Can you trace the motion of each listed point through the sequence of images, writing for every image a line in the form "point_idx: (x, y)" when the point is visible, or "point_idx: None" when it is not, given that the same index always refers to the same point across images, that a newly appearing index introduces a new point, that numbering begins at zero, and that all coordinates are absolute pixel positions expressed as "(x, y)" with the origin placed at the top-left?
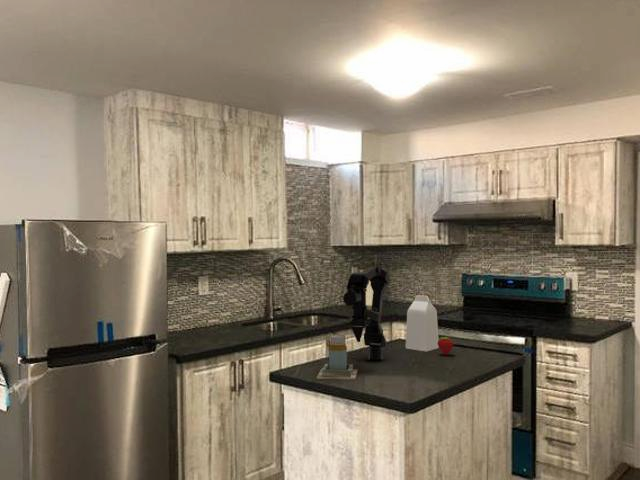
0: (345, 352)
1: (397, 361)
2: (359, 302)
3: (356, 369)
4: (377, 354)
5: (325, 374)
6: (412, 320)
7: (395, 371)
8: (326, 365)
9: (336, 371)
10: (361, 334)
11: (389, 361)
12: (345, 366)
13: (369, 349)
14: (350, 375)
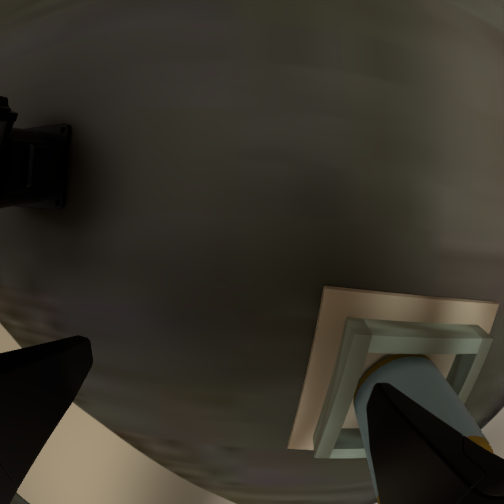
0: (475, 425)
1: (87, 46)
2: None
3: (325, 295)
4: (49, 150)
5: None
6: None
7: (337, 51)
8: (357, 451)
9: (464, 397)
10: (63, 357)
11: (82, 85)
12: (440, 374)
13: (7, 205)
14: (481, 329)
